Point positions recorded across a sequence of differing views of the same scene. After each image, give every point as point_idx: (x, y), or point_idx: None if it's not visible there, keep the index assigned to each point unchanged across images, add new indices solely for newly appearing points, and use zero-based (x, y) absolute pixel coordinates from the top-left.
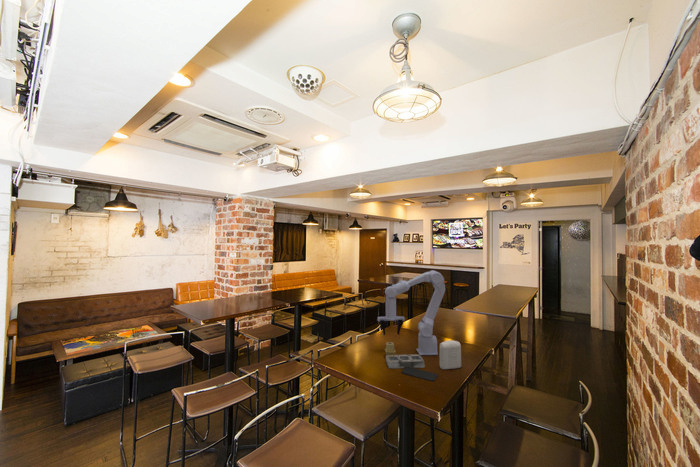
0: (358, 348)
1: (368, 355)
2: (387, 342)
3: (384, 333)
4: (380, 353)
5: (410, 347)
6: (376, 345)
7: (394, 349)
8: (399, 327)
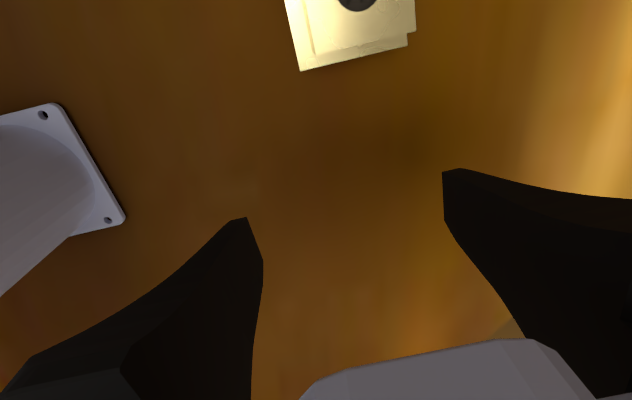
0: (596, 164)
1: (541, 15)
2: (394, 33)
3: (465, 172)
4: (423, 87)
5: (183, 253)
6: (443, 244)
7: (293, 33)
8: (184, 282)
